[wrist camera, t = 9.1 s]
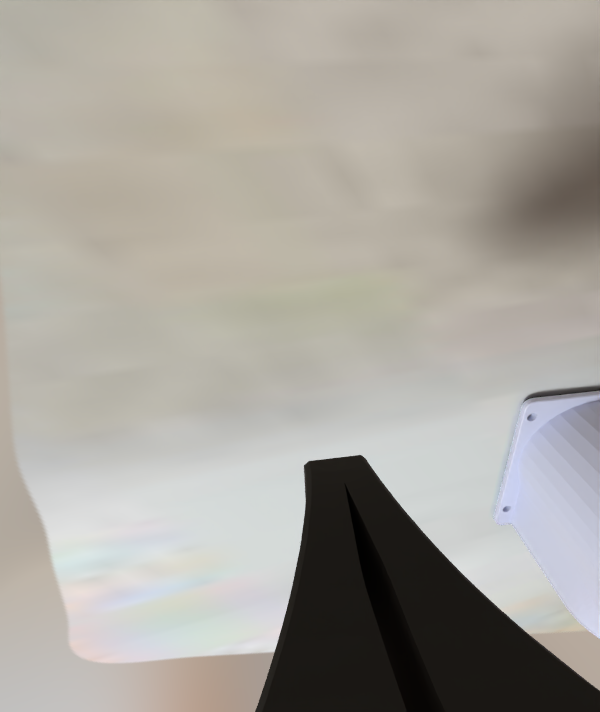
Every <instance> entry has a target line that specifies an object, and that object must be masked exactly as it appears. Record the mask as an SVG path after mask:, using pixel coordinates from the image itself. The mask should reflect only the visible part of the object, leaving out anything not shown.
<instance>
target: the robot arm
mask: <svg viewBox="0 0 600 712" xmlns="http://www.w3.org/2000/svg"><path fill="white" fill-rule="evenodd" d="M530 414H531V415H530ZM529 415H530V416H529ZM304 474H305V494H306V507H305V517H304V525H303V532H302V540H301V546H300V552H299V557H298V562H297V567H296V571H295V576H294V581H293V586H292V590H291V594H290V599H289V603H288V607H287V611H286V614H285V618H284V622H283V625H282V629H281V633H280V636H279V640H278V643H277V646H276V650H275V653H274V656H273V660H272V663H271V666H270V669H269V673H268V676H267V679H266V682H265V685H264V688H263V691H262V694H261V697H260V700H259V703H258V706H257V708H256V711H255V712H600V691H599V690H598V689H597V688H595V687H594V686H593V685H591V684H590V683H589V682H587V681H586V680H585V679H584V678H582V677H581V676H580V675H579V674H577V673H576V672H575V671H574V670H572V669H571V668H570V667H569V666H567V665H566V664H565V663H564V662H562V661H561V660H560V659H559V658H557V657H556V656H555V655H554V654H552V653H551V652H550V651H548V650H547V649H546V648H545V647H544V646H542V645H541V644H540V643H539V642H537V641H536V640H535V639H534V638H532V637H531V636H530V635H529V634H528V633H526V632H525V631H524V630H523V629H522V628H521V627H519V626H518V625H517V624H516V623H515V622H514V621H513V620H511V619H510V618H509V617H508V616H507V615H506V614H505V613H504V612H502V611H501V610H500V609H499V608H498V607H497V606H496V605H495V604H494V603H492V602H491V601H490V600H489V599H488V598H487V597H486V596H485V595H484V594H483V593H482V592H481V591H480V590H478V589H477V588H476V587H475V586H474V585H473V584H472V583H471V582H470V581H469V580H468V579H467V578H466V577H465V576H464V575H463V574H462V573H461V572H460V571H459V570H458V569H457V568H456V567H455V566H454V565H453V564H452V563H451V562H450V561H449V560H448V559H447V558H446V557H445V556H444V554H443V553H442V552H441V551H440V550H439V549H438V548H437V547H436V546H435V545H434V544H433V543H432V542H431V541H430V539H429V538H428V537H427V536H426V535H425V534H424V533H423V532H422V530H421V529H420V528H419V527H418V526H417V525H416V523H415V522H414V521H413V520H412V519H411V518H410V516H409V515H408V514H407V513H406V512H405V511H404V509H403V508H402V507H401V506H400V504H399V503H398V502H397V501H396V500H395V498H394V497H393V496H392V494H391V493H390V492H389V491H388V489H387V488H386V487H385V485H384V484H383V483H382V481H381V480H380V479H379V477H378V476H377V475H376V473H375V472H374V470H373V469H372V468H371V466H370V465H369V463H368V462H367V460H366V459H365V458H364V457H363V456H361V455H358V456H349V457H341V458H332V459H324V460H315V461H309V462H307V463H306V464H305V465H304ZM493 519H494V521H495V522H496V524H498V525H507V524H512V526H513V527H514V529H515V530H516V532H517V533H518V535H519V536H520V538H521V539H522V541H523V542H524V544H525V546H526V547H527V549H528V550H529V552H530V553H531V555H532V556H533V558H534V559H535V561H536V562H537V564H538V565H539V567H540V568H541V570H542V571H543V573H544V574H545V576H546V577H547V579H548V580H549V582H550V584H551V585H552V587H553V588H554V590H555V591H556V593H557V594H558V596H559V597H560V599H561V600H562V602H563V603H564V605H565V606H566V608H567V609H568V610H569V612H570V613H571V614H572V615H573V616H574V618H575V619H576V620H577V621H578V622H579V623H580V624H581V625H583V626H584V627H585V628H586V629H587V630H588V631H590V632H591V633H592V634H594V635H595V636H596V637H598V638H599V639H600V391H592V392H583V393H574V394H565V395H556V396H547V397H538V398H531V399H528V400H526V401H525V402H524V403H523V404H522V406H521V410H520V414H519V418H518V422H517V426H516V430H515V434H514V438H513V441H512V445H511V449H510V453H509V457H508V461H507V465H506V469H505V473H504V477H503V481H502V485H501V488H500V492H499V496H498V500H497V504H496V508H495V512H494V516H493Z"/></svg>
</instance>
